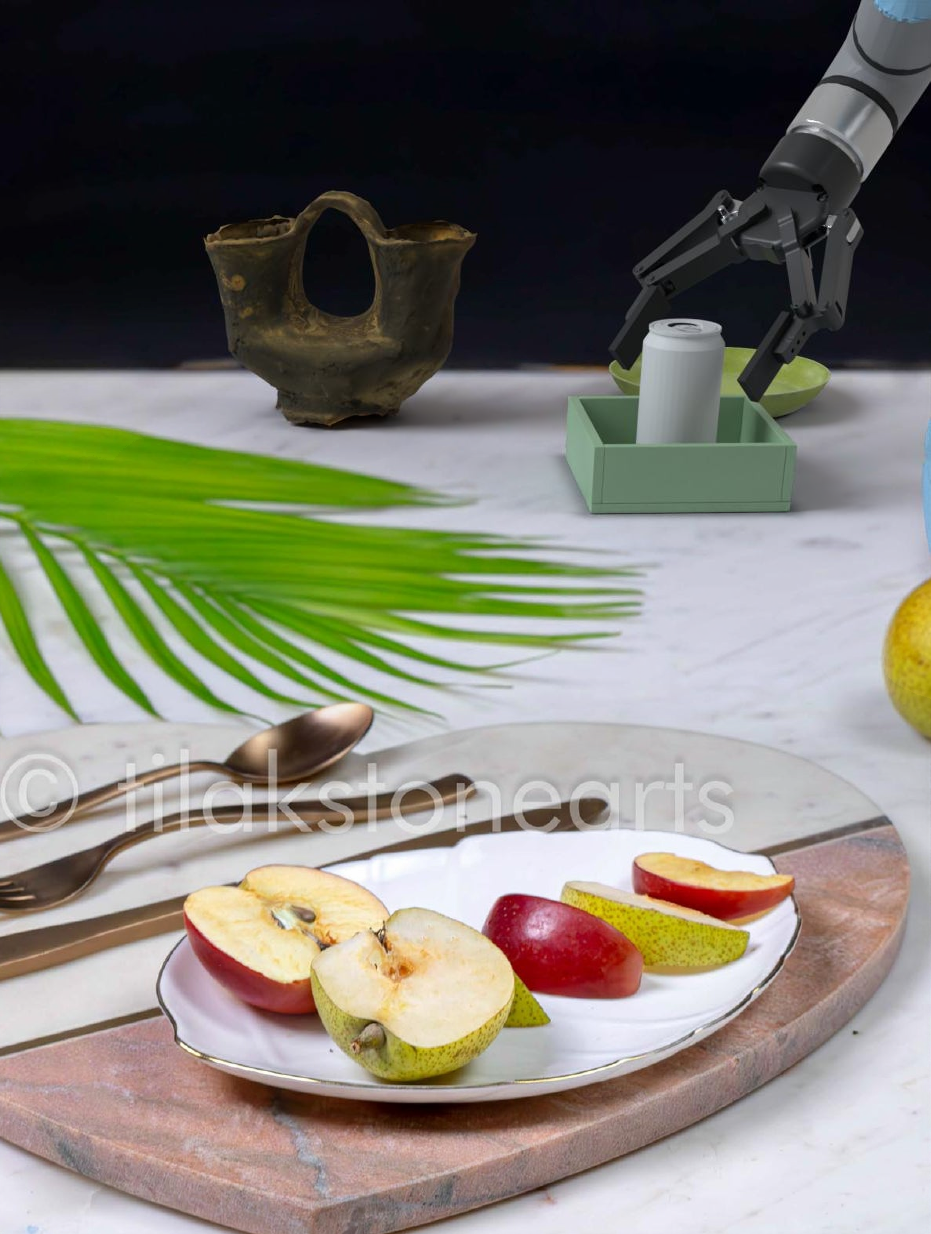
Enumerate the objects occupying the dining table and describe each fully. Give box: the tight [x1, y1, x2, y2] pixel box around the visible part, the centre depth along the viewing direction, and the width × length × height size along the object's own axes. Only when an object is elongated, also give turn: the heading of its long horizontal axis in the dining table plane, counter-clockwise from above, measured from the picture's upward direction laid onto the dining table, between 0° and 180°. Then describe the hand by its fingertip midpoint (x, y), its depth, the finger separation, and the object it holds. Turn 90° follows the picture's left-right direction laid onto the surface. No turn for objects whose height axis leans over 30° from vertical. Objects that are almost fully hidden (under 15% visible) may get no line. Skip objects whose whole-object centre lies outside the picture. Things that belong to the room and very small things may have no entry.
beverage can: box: [636, 318, 726, 444], centre depth 136 cm, size 6×6×12 cm
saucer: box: [608, 346, 832, 419], centre depth 162 cm, size 21×21×3 cm
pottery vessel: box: [203, 190, 478, 427], centre depth 154 cm, size 25×11×20 cm, turn 76°
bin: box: [564, 395, 798, 514], centre depth 138 cm, size 16×16×5 cm
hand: (680, 375), depth 135 cm, fingers open, 13 cm apart
